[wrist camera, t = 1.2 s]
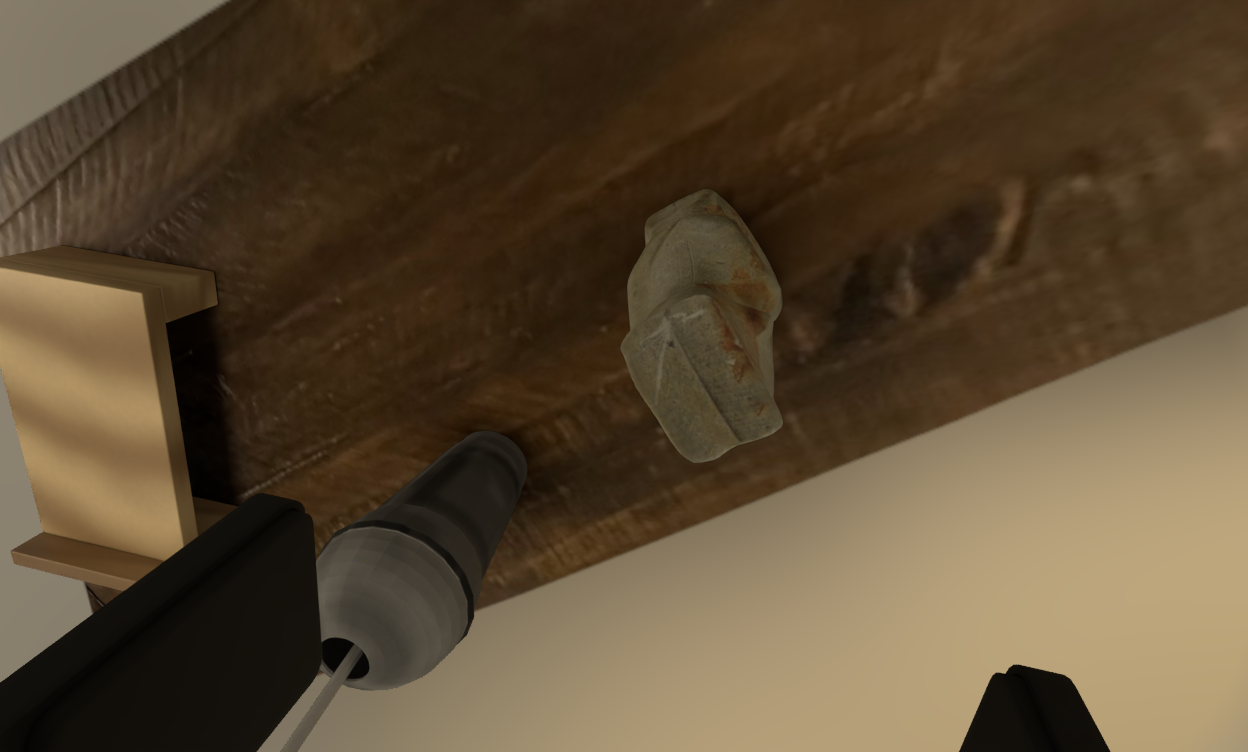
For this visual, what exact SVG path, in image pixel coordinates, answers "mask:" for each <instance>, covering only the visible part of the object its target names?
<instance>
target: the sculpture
mask: <svg viewBox="0 0 1248 752" xmlns="http://www.w3.org/2000/svg"><path fill="white" fill-rule="evenodd" d="M645 243H646V247H645V249H644V251H643V252H642V254H641V256H640V258H639V259H638V261H637V263H636V265H635V266H634V268H633V270H632V272H631V274H630V276H629V279H628V285H627V292H628V308H629V319H630V332H629V333H628V334H627V336H626V337H625V339H624V340H623V342H622V344H621V352H622V353H623V355H624V357H625V360H626V363H627V366H628V369H629V372H630V375H631V378H632V380H633V381H634V383H635V387H636V388H637V389H638V390H639V392H640V394H641V396H642V397H643V399H644V400H645V402H646V403H647V405H648V406H649V408H650V409H651V411H652V412H653V414H654V415H655V417H656V418H657V420H658V421H659V423H660V425H661V426H662V428H663V429H664V431H665V433H666V434H667V436H668V438H669V439H670V441H671V442H672V444H673V445H674V446H675V448H676V449H677V450H678V451H679V452H680V453H681V454H682V455H683V456H684V457H686V458H687V459H688V460H690V461H691V462H694V463H700V462H706V461H711V460H714V459H716V458H718V457H720V456H721V455H722V454H724V453H725V452H727V451H728V450H729V449H731V448H733V447H735V446H737V445H740V444H744V443H747V442H751V441H755V440H758V439H761V438H764V437H767V436H769V435H771V434H773V433H774V432H776V431H777V430H778V429H780V428H781V426H782V424H783V420H782V417H781V414H780V412H779V410H778V408H777V406H776V403H775V401H774V399H773V394H774V368H773V354H772V333H773V323H774V321H775V320H776V319H777V317H778V315H779V314H780V312H781V309H782V295H781V288H780V286H779V284H778V281H777V279H776V276H775V274H774V272H773V270H772V268H771V265H770V263H769V261H768V260H767V258H766V256H765V254H764V253H763V251H762V249H761V248H760V246H759V245H758V243H757V241H756V240H755V238H754V237H753V235H752V233H751V232H750V230H749V229H748V227H747V226H746V225H745V223H744V222H743V220H742V219H741V217H740V216H739V215H738V214H737V212H736V211H735V210H734V209H733V208H732V207H731V206H730V205H729V204H728V203H727V202H726V201H725V200H724V199H723V198H722V197H721V196H719V195H718V194H717V193H716V192H714V191H712V190H710V189H703V190H700V191H698V192H696V193H693V194H691V195H689V196H686V197H684V198H682V199H680V200H678V201H676V202H674V203H672V204H670V205H669V206H667V207H665V208H663V209H662V210H660V211H658V212H656V213H655V214H653V215H652V216H651V217H649V218H648V219H647V221H646V225H645Z"/></svg>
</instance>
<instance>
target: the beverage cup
mask: <svg viewBox="0 0 1248 752" xmlns="http://www.w3.org/2000/svg"><path fill="white" fill-rule="evenodd" d="M526 478H527V463H526V460H525V456H524V454H523V453H522V451H521V450H520V448H519V447H518V446H517V445H516V444H515V443H514V442H513V441H512V440H510V439H509V438H508V437H506V436H504V435H501V434H499V433H497V432H491V431H480V432H474V433H472V434H470V435H468V436H467V437H465V438H464V439H463V440H462V441H461V442H459V443H458V444H456V445H454V446H452V447H451V448H450V449H448V450H447V451H446V452H445V453H444V454H442V455H441V456H440V457H439V458H438V459H436V460H435V461H434V462H433V463H432V464H430V465H429V466H428V467H427V468H426V469H424V470H423V471H422V472H421V473H420V474H418V475H417V476H416V477H415V478H414V479H412V480H411V481H410V482H409V483H407V484H406V485H405V486H404V487H403V488H401V489H400V490H399V491H398V492H397V493H395V494H394V495H393V496H392V497H391V498H389V499H388V500H387V501H386V502H385V503H383V504H382V505H381V506H380V507H379V508H377V509H376V510H374V511H372V512H370V513H368V514H366V515H364V516H363V517H361V518H360V519H358V520H356V521H355V522H353V523H351V524H350V525H348V526H346V527H344V528H343V529H341V530H339V531H337V532H335V534H334V535H333V536H332V537H331V539H330V540H329V541H328V542H327V544H326V545H325V546H324V547H323V549H322V551H321V553H320V556H319V558H318V559H317V560H316V570H317V584H318V598H319V612H320V626H321V640H322V662H321V666H320V670H321V671H322V672H324V673H325V674H326V675H328V676H329V677H330V678H331V679H330V680H329V682H328V683H327V685H326V686H325V687H324V689H323V690H322V692H321V693H320V695H319V696H318V698H317V699H316V701H315V702H314V703H313V705H312V706H311V708H310V710H309V711H308V712H307V714H306V715H305V717H304V718H303V719H302V721H301V722H300V724H299V725H298V727H297V728H296V730H295V731H294V733H293V734H292V735H291V737H290V738H289V740H288V741H287V743H286V744H285V746H284V747H283V749H282V750H281V751H280V752H297V751H298V750H299V748H300V747H301V745H302V744H303V742H304V741H305V739H306V738H307V736H308V735H309V733H310V732H311V730H312V729H313V727H314V726H315V724H316V723H317V721H318V720H319V718H320V717H321V715H322V714H323V712H324V711H325V709H326V708H327V706H328V705H329V703H330V702H331V700H332V699H333V697H334V696H335V694H336V693H337V691H338V690H339V688H340V687H341V685H342V684H343V685H345V686H347V687H351V688H356V689H360V690H388V689H393V688H397V687H399V686H402V685H405V684H407V683H410V682H412V681H414V680H417V679H419V678H421V677H423V676H424V675H426V674H427V673H429V672H430V671H431V670H433V669H434V668H435V667H436V666H437V665H438V664H439V663H440V662H441V661H442V660H443V659H444V658H445V657H446V656H447V655H448V654H449V653H450V652H451V651H452V650H453V649H454V648H455V646H456V645H457V644H458V643H459V642H460V641H461V640H462V639H463V638H464V637H465V636H466V635H467V633H468V631H469V628H470V626H471V623H472V621H473V618H474V609H475V606H476V604H477V600H478V597H479V593H480V590H481V586H482V580H483V577H484V575H485V573H486V571H487V568H488V566H489V564H490V562H491V560H492V557H493V555H494V553H495V551H496V549H497V546H498V544H499V542H500V540H501V537H502V535H503V533H504V531H505V529H506V526H507V524H508V522H509V520H510V517H511V515H512V513H513V511H514V509H515V506H516V504H517V502H518V500H519V497H520V495H521V492H522V487H523V486H524V483H525V481H526Z"/></svg>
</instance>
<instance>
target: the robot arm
mask: <svg viewBox="0 0 1248 752" xmlns="http://www.w3.org/2000/svg"><path fill="white" fill-rule="evenodd" d="M321 662H322V640H321V626H320V612H319V598H318V584H317V570H316V556H315V542H314V528H313V520H312V518H311V516H310V515H308V514H306V513H305V509H304V506H303V505H302V504H301V503H300V502H298V501H296V500H291V499H287V498H282V497H278V496H274V495H269V494H265V493H260V494H256V495H254V496H252V497H250V498H249V499H248V500H246V501H245V502H244V503H242V504H241V505H240V506H238V507H237V508H236V509H234V510H233V511H232V512H230V513H229V514H227V515H226V516H225V517H223V518H222V519H221V520H219V521H218V522H217V523H215V524H214V525H213V526H211V527H210V528H209V529H207V530H206V531H205V532H203V533H202V534H200V535H199V536H198V537H196V538H195V539H194V540H192V541H191V542H190V543H188V544H187V545H186V546H184V547H183V548H182V549H180V550H179V551H178V552H176V553H175V554H173V555H172V556H171V557H169V558H168V559H167V560H165V561H164V562H163V563H161V564H160V565H159V566H157V567H156V568H155V569H153V570H152V571H150V572H149V573H148V574H146V575H145V576H144V577H142V578H141V579H140V580H138V581H137V582H136V583H134V584H133V585H132V586H130V587H129V588H128V589H126V590H125V591H123V592H122V593H121V594H119V595H118V596H117V597H115V598H114V599H113V600H111V601H110V602H109V603H107V604H106V605H105V606H103V607H102V608H100V609H99V610H98V611H96V612H95V613H94V614H92V615H91V616H90V617H88V618H87V619H86V620H84V621H83V622H82V623H80V624H79V625H78V626H76V627H75V628H73V629H72V630H71V631H69V632H68V633H67V634H65V635H64V636H63V637H61V638H60V639H59V640H57V641H56V642H55V643H53V644H52V645H51V646H49V647H48V648H46V649H45V650H44V651H43V652H41V653H40V654H38V655H37V656H36V657H34V658H33V659H32V660H30V661H29V662H28V663H26V664H25V665H23V666H22V667H21V668H19V669H18V670H17V671H15V672H14V673H13V674H11V675H10V676H9V677H8V678H6V679H5V680H3V681H2V682H0V752H257V750H258V749H259V748H260V747H261V745H262V744H263V743H264V742H265V740H266V739H267V738H268V737H269V736H270V734H271V733H272V732H273V731H274V729H275V728H276V727H277V726H278V724H279V723H280V722H281V721H282V719H283V718H284V717H285V715H286V714H287V713H288V712H289V711H290V709H291V708H292V707H293V706H294V704H295V703H296V702H297V701H298V699H299V698H300V697H301V696H302V694H303V693H304V692H305V691H306V689H307V688H308V687H309V686H310V685H311V683H312V682H313V680H314V679H315V677H316V675H317V673H318V671H319V669H320V666H321ZM959 752H1110V750H1109V748H1108V746H1107V745H1106V743H1105V741H1104V739H1103V737H1102V735H1101V733H1100V731H1099V730H1098V728H1097V726H1096V724H1095V722H1094V720H1093V718H1092V716H1091V715H1090V713H1089V711H1088V709H1087V707H1086V705H1085V703H1084V701H1083V700H1082V698H1081V696H1080V694H1079V692H1078V690H1077V689H1076V687H1075V685H1074V684H1073V682H1072V681H1071V679H1069V678H1068V677H1066V676H1065V675H1062V674H1057V673H1053V672H1049V671H1044V670H1040V669H1035V668H1031V667H1026V666H1022V665H1013V666H1011V667H1010V668H1009V669H1008V671H1007V672H1006V674H1002V673H995V674H994V675H993V676H992V678H991V679H990V681H989V684H988V686H987V688H986V691H985V693H984V695H983V698H982V700H981V702H980V705H979V707H978V709H977V711H976V714H975V716H974V718H973V721H972V723H971V726H970V728H969V730H968V732H967V735H966V737H965V739H964V742H963V744H962V746H961V749H960V751H959Z"/></svg>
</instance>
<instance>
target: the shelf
mask: <svg viewBox="0 0 1248 752" xmlns="http://www.w3.org/2000/svg"><path fill="white" fill-rule="evenodd" d="M217 304H218V301H217V292H216V284H215V276H214V272H212V271H206V270H201V269H195V268H189V267H183V266H178V265H172V264H166V263H160V262H155V261H149V260H143V259H137V258H132V257H126V256H120V255H115V254H109V253H103V252H97V251H92V250H86V249H80V248H74V247H69V246H63V245H62V246H57V247H52V248H47V249H42V250H36V251H31V252H26V253H21V254H16V255H11V256H5V257H0V367H1V371H2V375H3V379H4V383H5V386H6V390H7V394H8V398H9V402H10V406H11V410H12V414H13V417H14V421H15V425H16V429H17V433H18V437H19V440H20V444H21V448H22V452H23V456H24V460H25V463H26V467H27V471H28V475H29V479H30V483H31V487H32V490H33V494H34V498H35V502H36V506H37V510H38V514H39V517H40V521H41V525H42V529H43V533H40V534H39V535H37V536H35V537H34V538H32V539H30V540H29V541H27V542H25V543H23V544H22V545H20V546H18V547H17V548H15V549H13V550H11V555H12V558H13V561H14V564H16V565H21V566H25V567H29V568H33V569H37V570H41V571H45V572H49V573H53V574H57V575H61V576H65V577H69V578H73V579H77V580H81V581H85V582H89V583H94V584H98V585H102V586H106V587H110V588H114V589H118V590H122V591H125V590H126V589H128V588H129V587H130V586H132V585H133V584H134V583H136V582H137V581H138V580H140V579H141V578H142V577H144V576H145V575H146V574H148V573H149V572H150V571H152V570H153V569H155V568H156V567H157V566H159V565H160V564H161V563H163V562H164V561H165V560H167V559H168V558H169V557H171V556H172V555H173V554H175V553H176V552H178V551H179V550H180V549H182V548H183V547H184V546H186V545H187V544H188V543H190V542H191V541H192V540H194V539H195V538H196V537H198V536H199V535H200V534H202V533H203V532H205V531H206V530H207V529H209V528H210V527H211V526H213V525H214V524H215V523H217V522H218V521H219V520H221V519H222V518H223V517H225V516H226V515H227V514H229V513H230V512H232V511H233V510H234V509H236V508H237V507H238V506H233V505H229V504H224V503H220V502H215V501H211V500H206V499H202V498H197V497H193V496H192V493H191V486H190V480H189V473H188V467H187V460H186V454H185V447H184V441H183V434H182V428H181V421H180V415H179V408H178V402H177V395H176V389H175V382H174V376H173V369H172V363H171V356H170V350H169V343H168V337H167V330H166V324H165V323H168V322H170V321H173V320H176V319H179V318H182V317H184V316H187V315H190V314H193V313H195V312H198V311H201V310H204V309H207V308H209V307H212V306H215V305H217Z"/></svg>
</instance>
